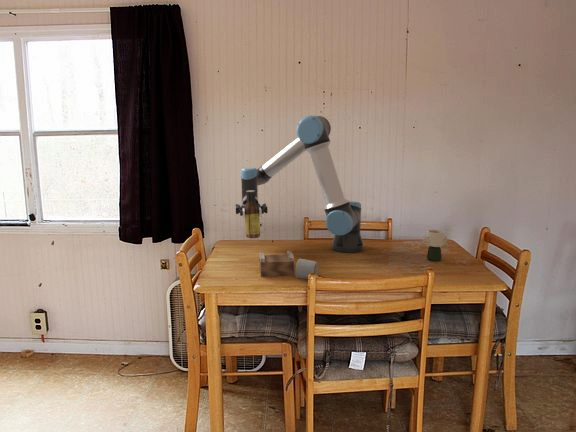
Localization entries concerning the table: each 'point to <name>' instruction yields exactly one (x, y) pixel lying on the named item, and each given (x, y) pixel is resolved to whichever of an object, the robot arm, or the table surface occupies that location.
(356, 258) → the table surface
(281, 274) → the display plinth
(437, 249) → the character mug
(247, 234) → the sauce bottle
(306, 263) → the ceramic mug
